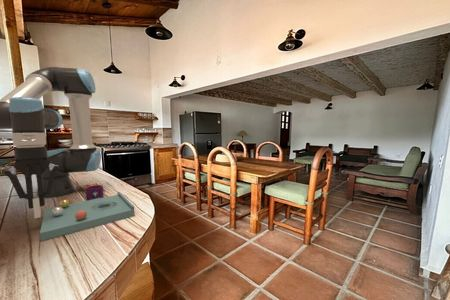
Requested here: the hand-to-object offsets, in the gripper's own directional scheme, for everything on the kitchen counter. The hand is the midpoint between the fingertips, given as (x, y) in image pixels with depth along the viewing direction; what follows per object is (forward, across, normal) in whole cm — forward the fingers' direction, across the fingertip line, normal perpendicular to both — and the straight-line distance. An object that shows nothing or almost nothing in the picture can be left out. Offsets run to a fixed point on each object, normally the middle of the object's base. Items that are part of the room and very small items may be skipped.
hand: (38, 216), depth 65 cm
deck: (+4, +14, 0) cm, 15 cm away
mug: (+4, +18, +19) cm, 26 cm away
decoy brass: (0, +7, +8) cm, 11 cm away
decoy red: (0, +11, -9) cm, 14 cm away
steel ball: (0, +5, 0) cm, 5 cm away
